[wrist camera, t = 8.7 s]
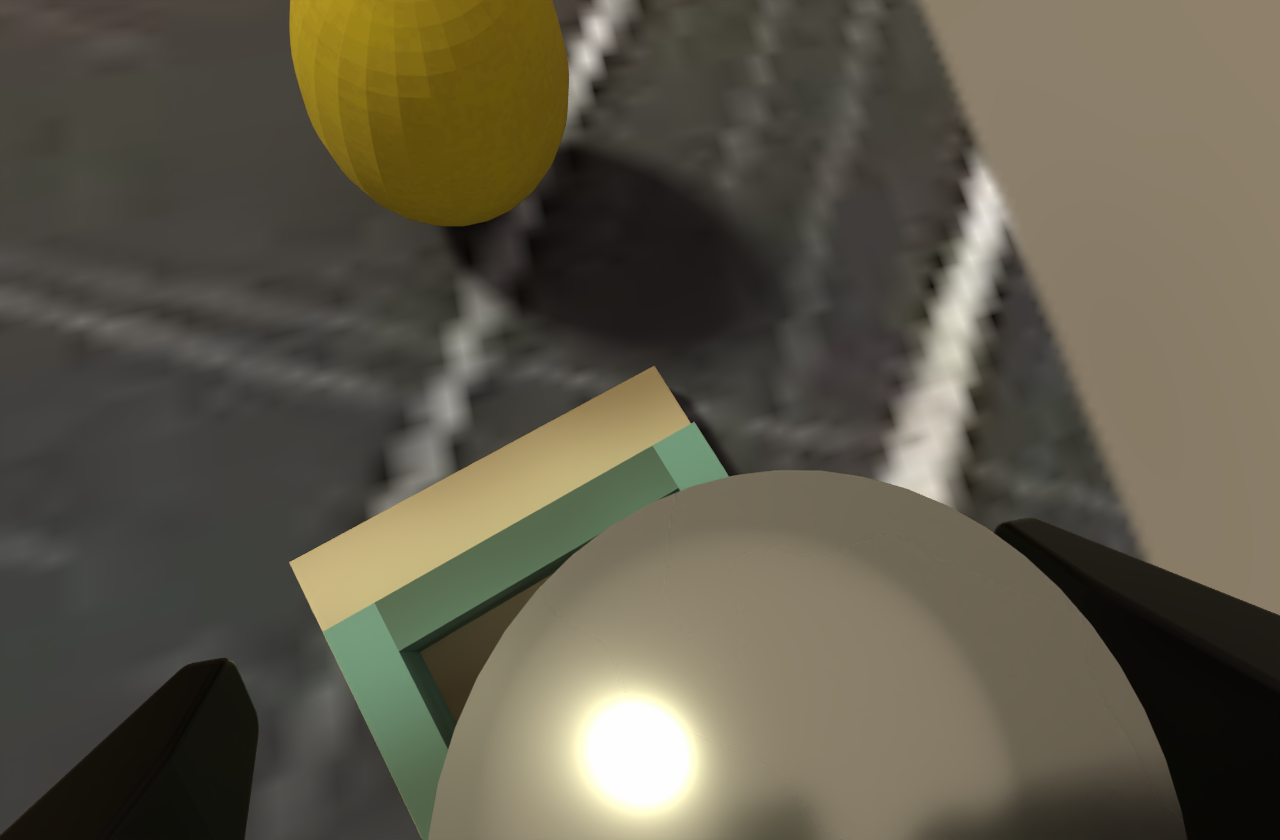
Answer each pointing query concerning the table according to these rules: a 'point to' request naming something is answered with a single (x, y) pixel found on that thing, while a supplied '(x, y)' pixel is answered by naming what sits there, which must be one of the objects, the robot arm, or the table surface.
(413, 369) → the table surface
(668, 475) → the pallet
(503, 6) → the lemon
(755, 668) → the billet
